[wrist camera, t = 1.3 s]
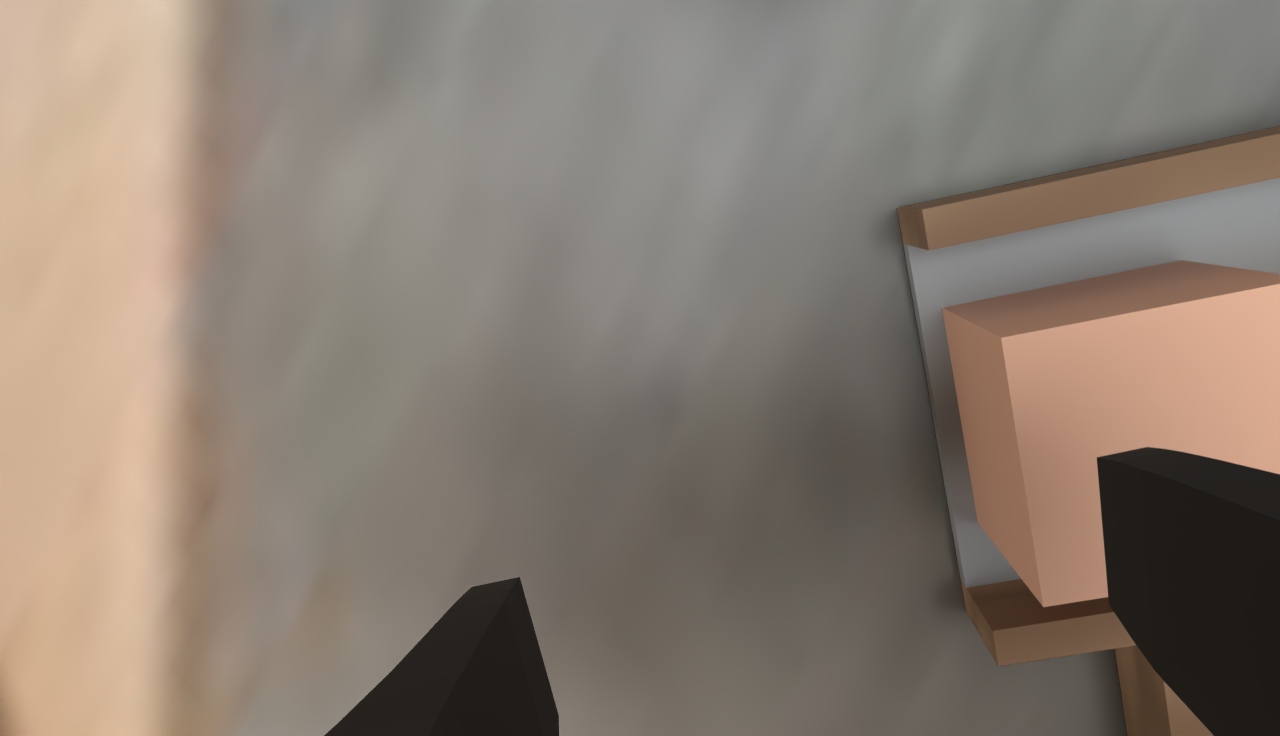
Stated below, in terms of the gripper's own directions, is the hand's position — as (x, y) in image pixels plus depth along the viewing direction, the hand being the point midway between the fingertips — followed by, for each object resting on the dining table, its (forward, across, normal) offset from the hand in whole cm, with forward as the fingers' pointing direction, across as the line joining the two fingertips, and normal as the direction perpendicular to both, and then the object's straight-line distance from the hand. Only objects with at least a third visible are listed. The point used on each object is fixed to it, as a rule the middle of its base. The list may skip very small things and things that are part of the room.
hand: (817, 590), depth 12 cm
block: (+9, -7, +2) cm, 12 cm away
